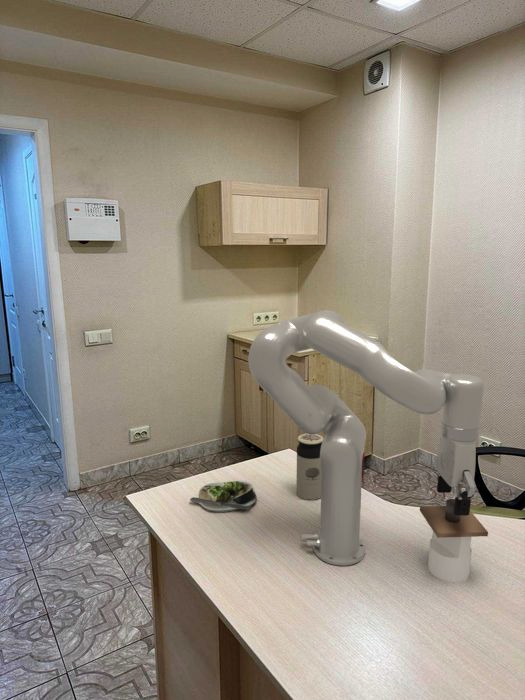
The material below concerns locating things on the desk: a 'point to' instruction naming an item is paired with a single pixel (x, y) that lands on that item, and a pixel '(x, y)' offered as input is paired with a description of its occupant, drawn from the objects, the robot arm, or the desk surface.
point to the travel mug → (309, 466)
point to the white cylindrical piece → (450, 558)
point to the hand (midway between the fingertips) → (452, 502)
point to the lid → (452, 522)
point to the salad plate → (226, 496)
